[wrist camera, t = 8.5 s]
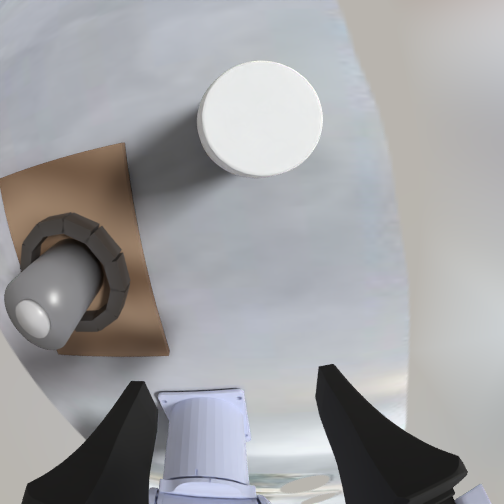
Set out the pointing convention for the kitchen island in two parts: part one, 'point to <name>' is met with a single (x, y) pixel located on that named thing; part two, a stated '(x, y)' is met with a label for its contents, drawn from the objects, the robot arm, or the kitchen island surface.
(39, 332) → the cap
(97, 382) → the kitchen island surface
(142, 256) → the ring board
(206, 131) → the supplement bottle
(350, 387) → the robot arm
